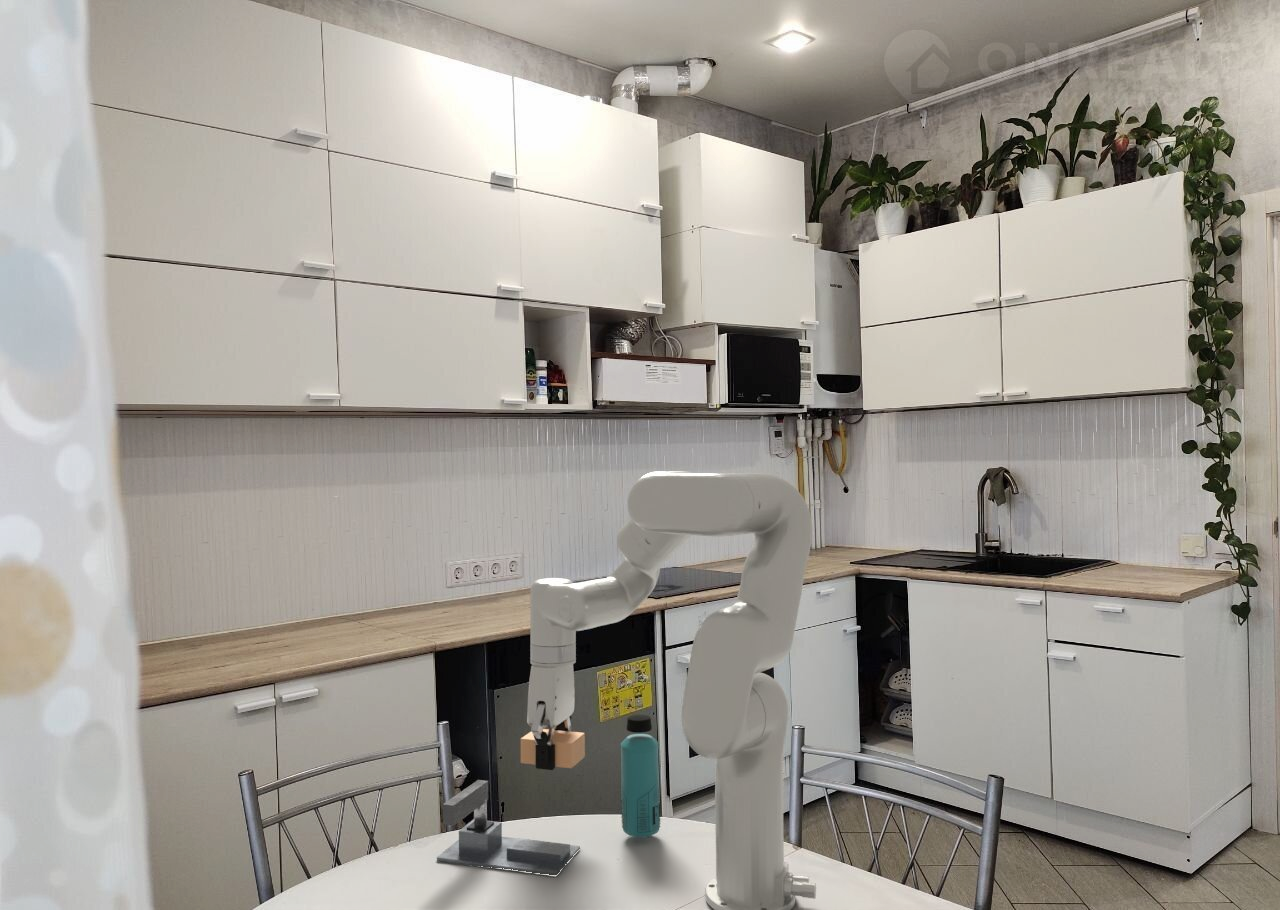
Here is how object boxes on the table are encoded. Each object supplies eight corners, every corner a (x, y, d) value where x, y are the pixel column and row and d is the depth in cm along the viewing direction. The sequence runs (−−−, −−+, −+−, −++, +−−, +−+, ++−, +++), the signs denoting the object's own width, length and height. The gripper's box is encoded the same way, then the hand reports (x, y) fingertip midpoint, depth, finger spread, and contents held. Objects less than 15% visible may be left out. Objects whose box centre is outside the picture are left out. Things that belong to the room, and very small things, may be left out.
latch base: (580, 849, 145) (579, 822, 145) (556, 877, 135) (555, 848, 136) (467, 836, 151) (467, 810, 151) (436, 861, 141) (436, 833, 141)
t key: (454, 849, 135) (454, 805, 135) (442, 847, 135) (442, 804, 136) (489, 821, 145) (488, 781, 145) (477, 820, 146) (477, 779, 146)
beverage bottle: (657, 847, 145) (655, 722, 146) (616, 844, 147) (615, 720, 147) (664, 831, 152) (662, 711, 152) (625, 829, 153) (624, 710, 153)
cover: (584, 756, 152) (584, 732, 152) (571, 768, 147) (571, 743, 147) (535, 751, 155) (535, 728, 155) (520, 763, 149) (520, 738, 149)
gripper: (552, 642, 160) (552, 744, 160) (510, 663, 144) (510, 777, 144) (592, 644, 158) (592, 748, 158) (554, 666, 142) (554, 782, 142)
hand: (553, 761), depth 151 cm, fingers closed on cover, 6 cm apart
